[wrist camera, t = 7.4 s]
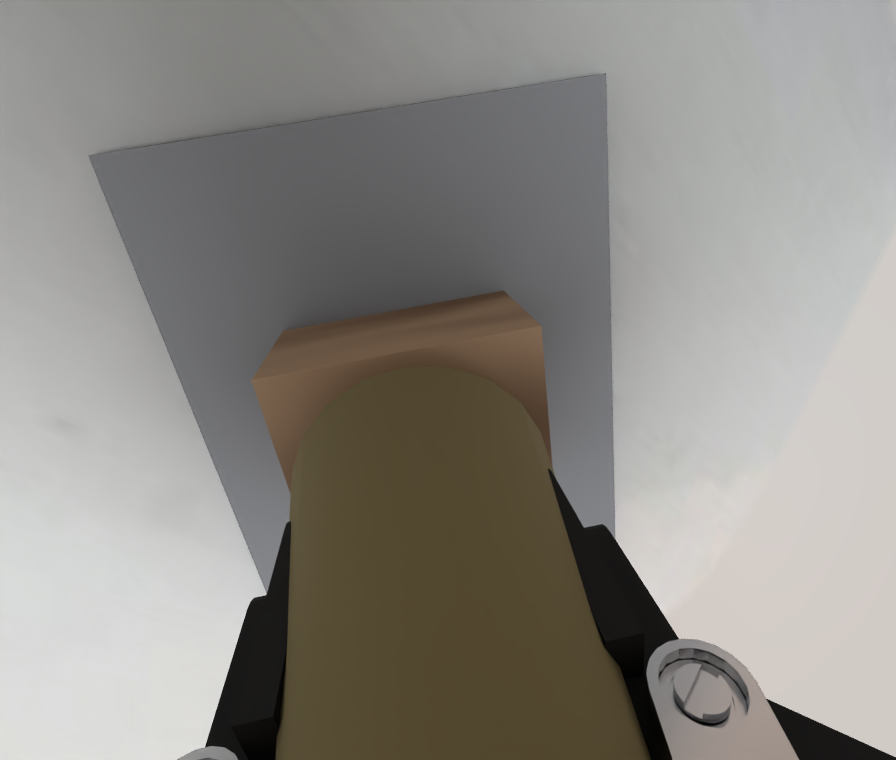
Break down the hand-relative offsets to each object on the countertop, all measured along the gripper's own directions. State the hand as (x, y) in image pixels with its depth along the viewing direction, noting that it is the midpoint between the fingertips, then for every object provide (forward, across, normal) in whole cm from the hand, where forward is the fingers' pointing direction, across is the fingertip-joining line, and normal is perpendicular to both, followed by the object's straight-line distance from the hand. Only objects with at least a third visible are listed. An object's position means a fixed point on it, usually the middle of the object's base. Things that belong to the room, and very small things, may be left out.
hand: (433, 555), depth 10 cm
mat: (+8, 0, 0) cm, 8 cm away
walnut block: (+7, 0, 0) cm, 7 cm away
